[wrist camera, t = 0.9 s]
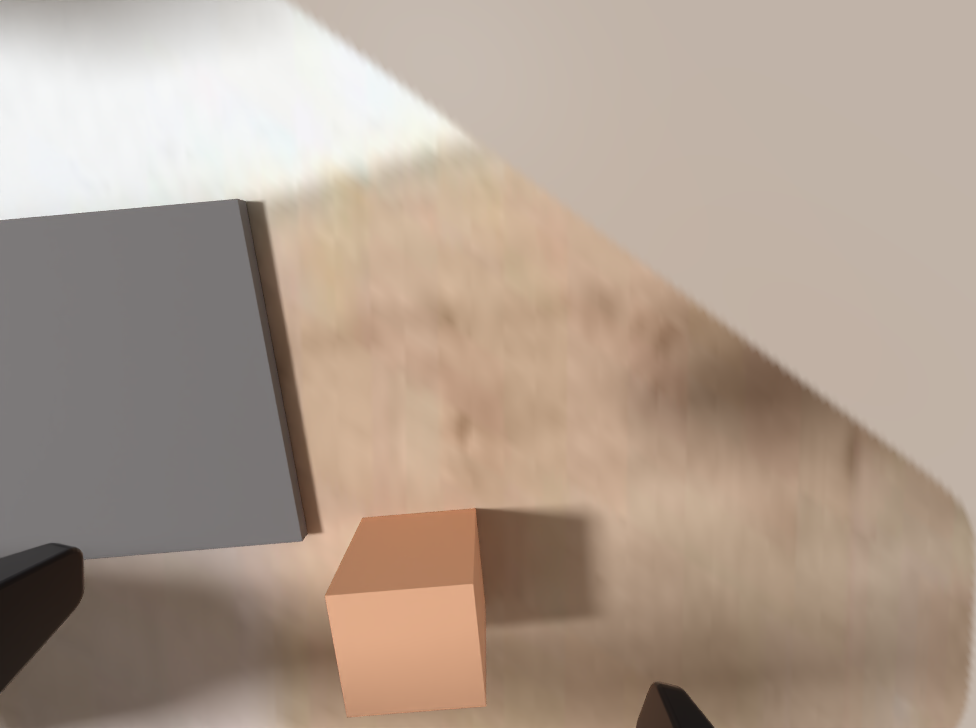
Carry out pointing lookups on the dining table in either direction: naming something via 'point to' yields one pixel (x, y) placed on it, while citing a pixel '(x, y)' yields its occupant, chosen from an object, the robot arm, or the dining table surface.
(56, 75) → the dining table surface
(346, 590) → the peach block
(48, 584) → the robot arm
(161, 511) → the charcoal mat
